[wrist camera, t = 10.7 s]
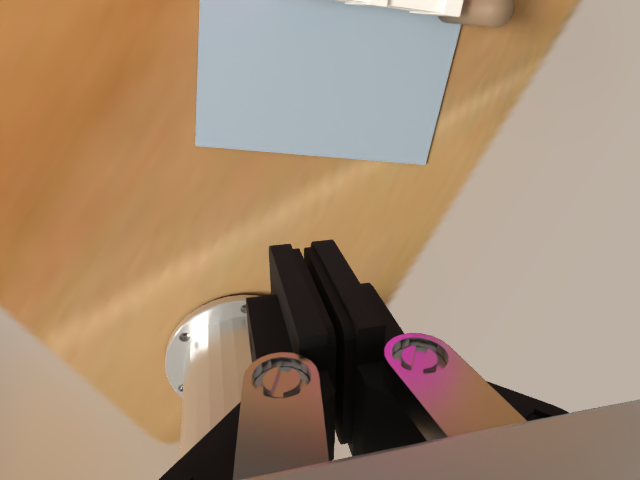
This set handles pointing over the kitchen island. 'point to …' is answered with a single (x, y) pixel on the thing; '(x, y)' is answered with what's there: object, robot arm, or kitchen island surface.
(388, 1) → the swing panel
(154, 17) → the kitchen island surface
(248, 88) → the mat
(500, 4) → the fixed panel and post
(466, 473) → the robot arm
